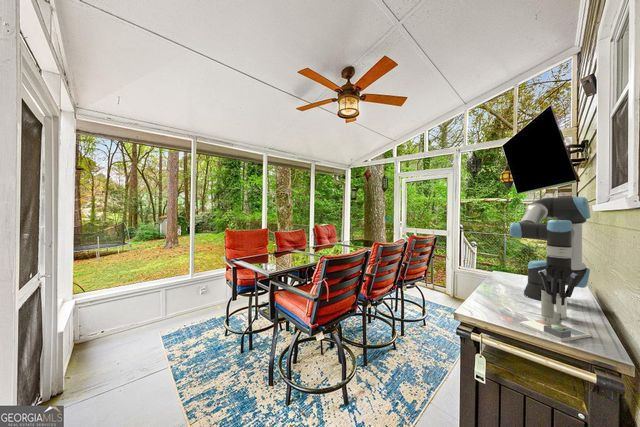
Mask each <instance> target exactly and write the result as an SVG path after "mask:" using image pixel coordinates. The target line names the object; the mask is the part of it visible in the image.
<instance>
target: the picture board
mask: <svg viewBox="0 0 640 427" xmlns="http://www.w3.org/2000/svg"><path fill="white" fill-rule="evenodd" d="M518 323H519V325H520V326H524V327H526V328H528V329H531V330H532V331H535V332H538V333H539V334H543V335H544V336H547V337H549V338H552V339H554V340H557V341H559V342H567V341H574V340H579V339H584V338H586V339H587V338H591V337H592V334H591V333H588V332H585V331H582V330H580V329H577V328H574V327H573V326H572V327H571V326H570V325H567V324H564V323H561V325H560V326H561V327H563V331H558V330H556V329H553V328H551V325H548V324H545V323H543V322H542V321H541V318H539V319H533V320H523V321H519V322H518ZM553 325H554V324H553Z"/></svg>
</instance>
